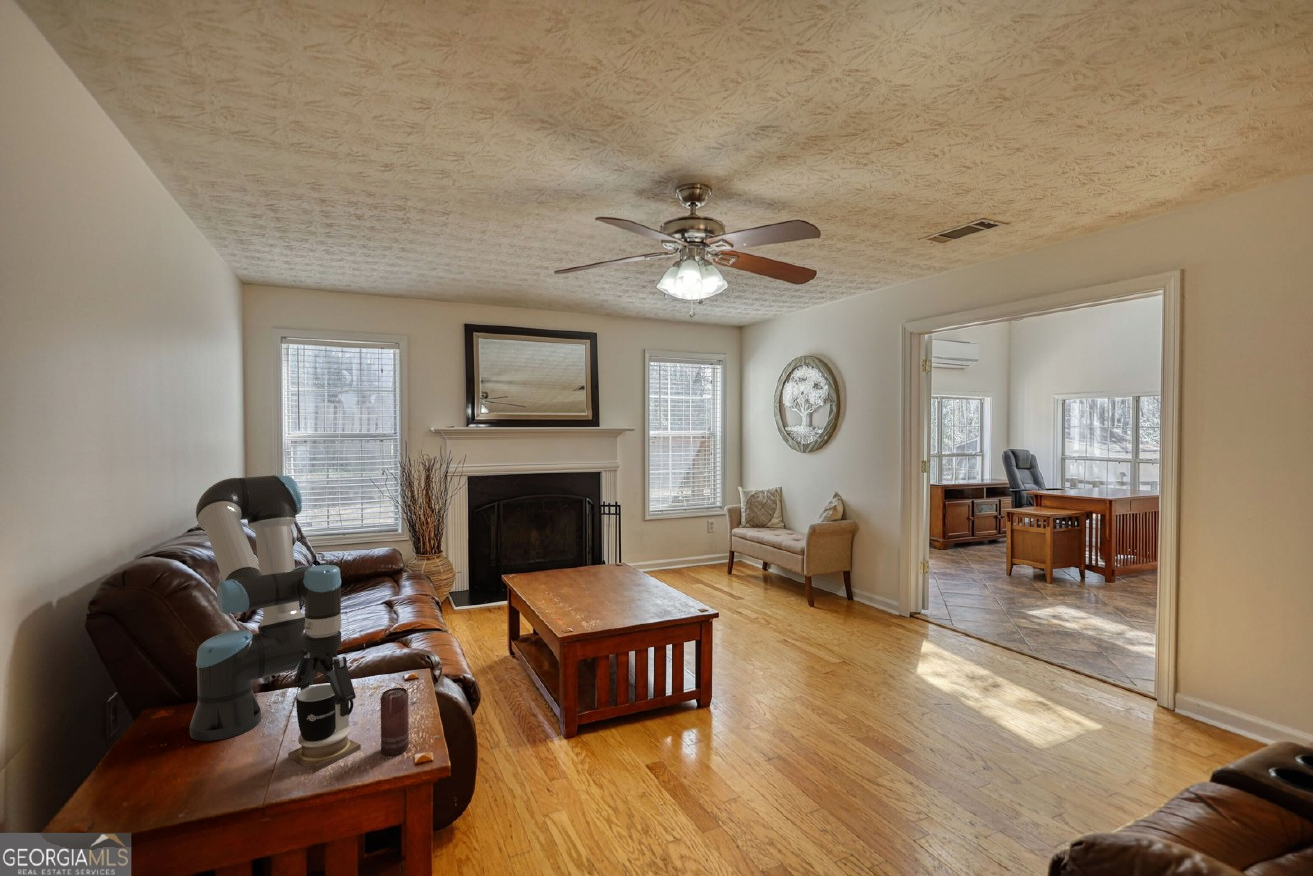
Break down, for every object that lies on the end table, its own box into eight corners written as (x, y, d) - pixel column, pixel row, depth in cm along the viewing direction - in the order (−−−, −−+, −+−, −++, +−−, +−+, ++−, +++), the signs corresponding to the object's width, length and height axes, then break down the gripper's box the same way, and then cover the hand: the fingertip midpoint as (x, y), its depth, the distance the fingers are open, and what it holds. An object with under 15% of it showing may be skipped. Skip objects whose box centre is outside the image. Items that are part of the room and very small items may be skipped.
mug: (299, 749, 140) (299, 705, 140) (294, 733, 147) (293, 690, 147) (357, 733, 147) (357, 691, 147) (349, 718, 155) (349, 678, 154)
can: (379, 758, 146) (378, 699, 145) (383, 744, 152) (382, 688, 151) (406, 755, 147) (406, 696, 147) (410, 741, 153) (409, 685, 153)
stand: (288, 758, 146) (287, 737, 146) (332, 737, 155) (332, 717, 155) (316, 771, 140) (315, 749, 140) (360, 749, 150) (360, 728, 150)
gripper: (276, 628, 150) (278, 715, 150) (341, 647, 137) (342, 742, 138) (307, 619, 156) (308, 702, 157) (371, 637, 144) (372, 727, 145)
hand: (324, 721), depth 147 cm, fingers open, 13 cm apart
